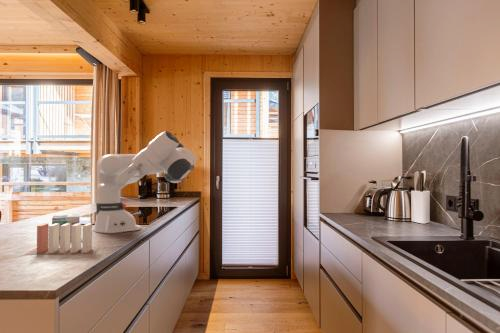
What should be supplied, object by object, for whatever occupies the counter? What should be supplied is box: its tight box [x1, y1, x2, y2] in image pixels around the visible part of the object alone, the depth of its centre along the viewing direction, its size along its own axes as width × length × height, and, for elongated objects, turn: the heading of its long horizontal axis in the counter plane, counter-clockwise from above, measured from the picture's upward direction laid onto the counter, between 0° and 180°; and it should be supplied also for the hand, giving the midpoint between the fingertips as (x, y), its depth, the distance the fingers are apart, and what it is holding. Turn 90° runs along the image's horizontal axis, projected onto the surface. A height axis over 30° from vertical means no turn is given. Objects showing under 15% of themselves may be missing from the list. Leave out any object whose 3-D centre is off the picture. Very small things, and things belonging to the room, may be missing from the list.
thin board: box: [22, 246, 102, 256], centre depth 124 cm, size 24×10×1 cm, turn 97°
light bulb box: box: [51, 213, 80, 241], centre depth 146 cm, size 11×7×11 cm, turn 117°
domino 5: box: [82, 222, 93, 252], centre depth 125 cm, size 2×5×10 cm, turn 7°
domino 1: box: [36, 223, 49, 253], centre depth 123 cm, size 2×5×10 cm, turn 7°
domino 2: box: [48, 223, 60, 253], centre depth 123 cm, size 2×5×10 cm, turn 7°
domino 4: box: [70, 222, 82, 253], centre depth 124 cm, size 2×5×10 cm, turn 7°
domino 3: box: [59, 223, 71, 253], centre depth 124 cm, size 2×5×10 cm, turn 7°
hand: (116, 189), depth 126 cm, fingers closed
